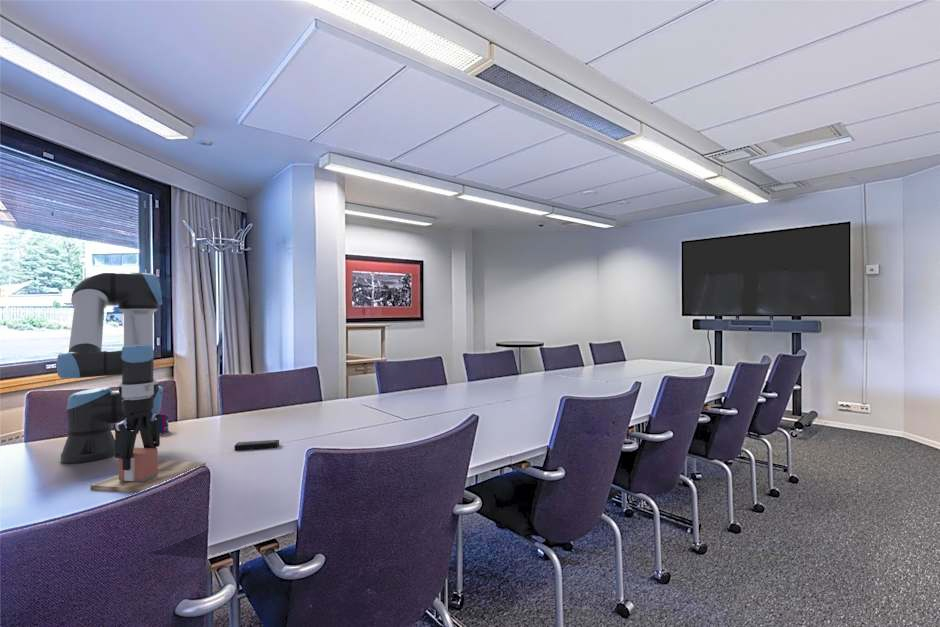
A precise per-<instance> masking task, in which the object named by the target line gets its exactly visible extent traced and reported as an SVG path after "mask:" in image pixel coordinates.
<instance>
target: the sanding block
mask: <svg viewBox="0 0 940 627" xmlns="http://www.w3.org/2000/svg"><path fill="white" fill-rule="evenodd" d="M158 450H159V449H158V447H156V448H144V447H135V446H134V449H133V454H132V457H133V458H135V480H134V481H140V482H143V481H146V480H148V479H150V478H153V477H155V476H158V460H159V459H158V456H159V455H158ZM118 475H119V480H123V481H124V470H123V466H122V459H121V458H118Z"/></svg>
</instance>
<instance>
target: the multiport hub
mask: <svg viewBox="0 0 940 627" xmlns="http://www.w3.org/2000/svg"><path fill="white" fill-rule="evenodd" d="M279 446H280V439H272V440H271V439H267V440H253V441H239V442H237V443H236V444H235V445H234V449H233V450H234V451H235V452H237V451H239V452H240V451H252V450H254V451H255V450H269V449H278V447H279Z"/></svg>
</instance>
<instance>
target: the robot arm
mask: <svg viewBox="0 0 940 627" xmlns="http://www.w3.org/2000/svg"><path fill="white" fill-rule="evenodd" d="M73 289H74V290H72V294H71V300H70V301H71V304H72V306H73V314H72V322H71V323H72V324H71V330H70V338H69V346H68V351H66V352H60V353H59V354H58V355H57V359H56V371H57V376H58V377H59V379H82V378H83V379H84V378H95V377H106V376H108V377H110V376H121V380H122V381H121V382H120V384H118V389H117V390H112V388H111V387H110V386H104V387H103V386H102V387H95V388H90V389H86V390H81V391H77V392H74V393H72V394H70V395H69V396H68V398H67V405H66V406H67V407H66V410H67V438H66V440H65V444H64V445H63V448H62V451H61V453H60V462H61V463H63V464H80V463H88V462H94V461H99V460H103V459H107V458H109V457H112V456H114V457H115V459H119V458H121V459H122V466H123V470H124V481H134V480H135V458H133V457H132V454H133V449H134V447H135V443H136V440H137V435H138V434H139V433H140V437H141V441H142V445H143V448H158V447H160V445H161V444H160V443H161V440H160V437H161V436H160V435H161V434H160V430H159V421H160V418H161V415H162V414H160V412H161V408H162V407H161V406H162V401H163V391H164V389H163V386H160V385H159V381H157V380H156V379H155V378H154V368H155V367H154V363H155V362H154V361H155V360H154V358H155V352H154V325H153V324H154V314H155V313H156V312H157V311H158V309H159V308H158V306H161V305H163V298H162V295H163V294H162V291H161V290H162V289H161V283H160V280H159V277H158V276H157V275H156V274H154V273H147V272H125V271H124V272H122V271H100V272H97V273H94V274H90V276H89V275H88V276H87V277H86V278H84V279H83V280H81V281H80V282H79V283H78V284H77V285H76V287H74V288H73ZM108 305H117V307H118V308H117V309H118V311H119V312H121V313H122V314H123V346H122V348H121V349H120V350H118V349H117V350H102V348H103V345H102V344H103V334H104V333H103V330H104V317H105V316H104V315H105V309H106V308H107V307H108ZM112 426H113V428H112ZM112 429H113V430H114V435H113V432H112Z"/></svg>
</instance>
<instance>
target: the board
mask: <svg viewBox="0 0 940 627" xmlns="http://www.w3.org/2000/svg"><path fill="white" fill-rule="evenodd" d="M206 464H207V463H206V462H203V461H202V462H200V461H186V460H185V461H182V460H181V461H179V460H166V459H165V460H163V459H158V476H155V477H153V478H150V479H148V480H146V481H143V482H140V481H123V480H119V474H117V475H114V476H112V477H109V478H106V479H103V480H101V481H98V482H95V483H93V484H91V485H90V490H95V491H107V492H120V493H122V492H124V493H137V492H140V491H142V490H145V489H147V488H150V487H152V486H154V485H157V484H160V483H162V482H164V481H167V480H169V479H172V478H174V477H176V476H178V475H180V474H182V473H185V472H187V471H189V470H191V469H193V468H196V467H198V466H202V465H206ZM206 466H207V465H206ZM137 494H138V493H137Z"/></svg>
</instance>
